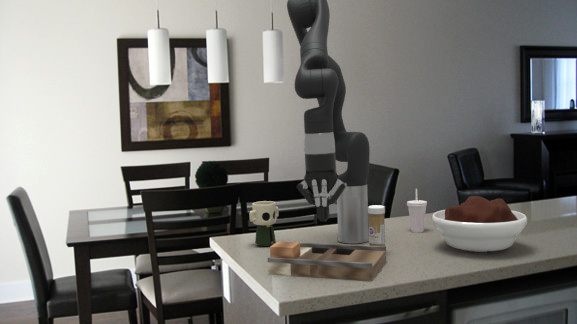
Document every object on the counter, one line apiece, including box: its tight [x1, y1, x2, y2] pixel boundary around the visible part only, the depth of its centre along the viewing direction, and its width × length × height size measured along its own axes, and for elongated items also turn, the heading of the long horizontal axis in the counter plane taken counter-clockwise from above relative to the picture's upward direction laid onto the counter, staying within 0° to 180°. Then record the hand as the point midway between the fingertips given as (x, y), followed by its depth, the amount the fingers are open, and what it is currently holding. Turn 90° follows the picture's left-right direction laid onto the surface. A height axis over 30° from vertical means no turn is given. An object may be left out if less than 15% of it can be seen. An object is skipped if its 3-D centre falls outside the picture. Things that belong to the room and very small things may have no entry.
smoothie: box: [406, 188, 428, 234], centre depth 185 cm, size 6×6×14 cm
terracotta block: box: [269, 241, 301, 259], centre depth 146 cm, size 6×6×4 cm
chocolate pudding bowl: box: [431, 195, 528, 253], centre depth 160 cm, size 25×25×15 cm
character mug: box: [249, 200, 279, 247], centre depth 174 cm, size 11×7×13 cm, turn 131°
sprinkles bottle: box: [368, 204, 386, 246], centre depth 157 cm, size 5×5×14 cm
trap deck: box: [267, 242, 387, 282], centre depth 146 cm, size 26×18×4 cm
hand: (323, 220), depth 143 cm, fingers closed
